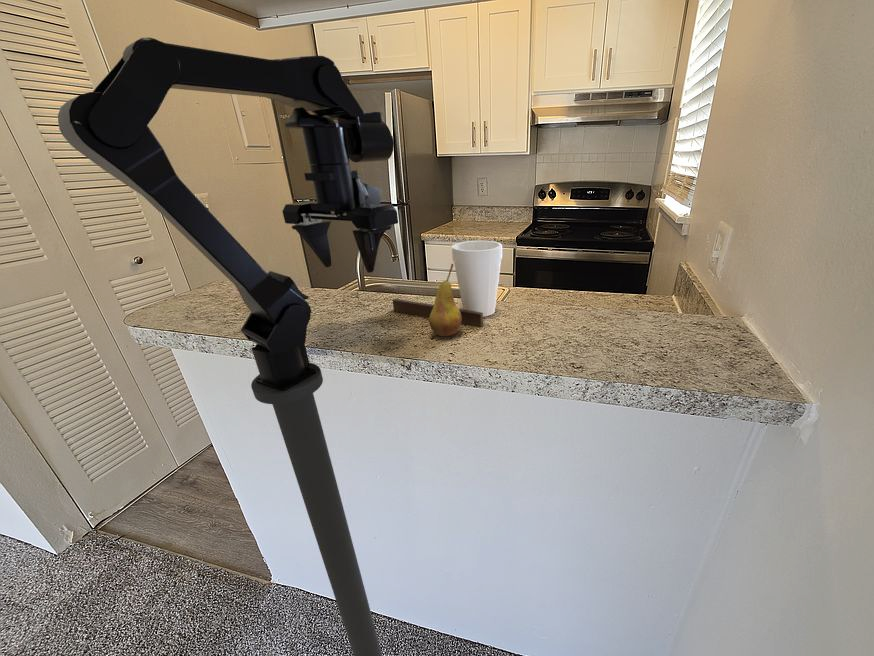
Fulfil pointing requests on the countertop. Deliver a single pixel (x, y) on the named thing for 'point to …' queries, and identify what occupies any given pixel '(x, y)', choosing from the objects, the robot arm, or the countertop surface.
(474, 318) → the rail
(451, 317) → the fruit
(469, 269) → the foam cup
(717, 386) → the countertop surface
